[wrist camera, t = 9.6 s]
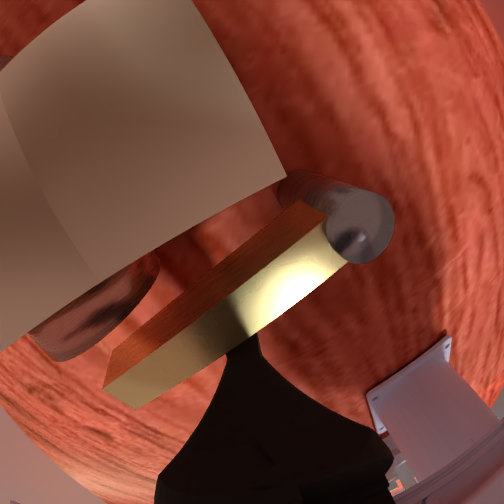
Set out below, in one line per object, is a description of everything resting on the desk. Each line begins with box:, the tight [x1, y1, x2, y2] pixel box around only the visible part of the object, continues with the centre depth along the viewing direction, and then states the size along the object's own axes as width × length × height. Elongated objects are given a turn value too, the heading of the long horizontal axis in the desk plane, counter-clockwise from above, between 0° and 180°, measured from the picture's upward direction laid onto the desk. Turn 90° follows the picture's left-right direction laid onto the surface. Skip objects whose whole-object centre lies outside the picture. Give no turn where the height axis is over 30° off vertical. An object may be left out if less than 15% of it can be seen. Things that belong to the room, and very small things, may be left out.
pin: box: [0, 56, 161, 362], centre depth 6 cm, size 8×5×5 cm, turn 27°
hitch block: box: [0, 0, 287, 353], centre depth 6 cm, size 5×12×5 cm, turn 117°
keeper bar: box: [102, 170, 395, 410], centre depth 9 cm, size 10×2×5 cm, turn 128°
